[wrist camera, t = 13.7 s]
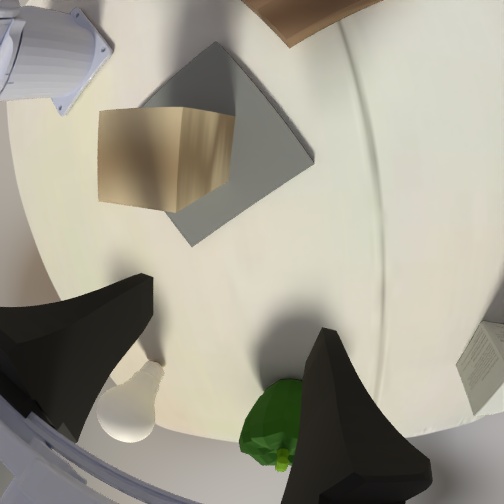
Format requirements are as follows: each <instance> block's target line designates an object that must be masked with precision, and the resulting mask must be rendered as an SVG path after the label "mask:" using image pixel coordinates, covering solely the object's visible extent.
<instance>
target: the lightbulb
mask: <svg viewBox="0 0 504 504" xmlns="http://www.w3.org/2000/svg"><path fill="white" fill-rule="evenodd" d="M163 376H164V370H163V368H162V367H161V365H160V364H159V363H157V362H153V361H148V362H146V363H145V364H144V366H143V367H142V368H141V369H140V371H138V372H136V373H135V374H134V375H133V376H132V378H130V379H129V380H128V381H127V382H125V383H123V384H121V385H118V386H115V387H113V388H110V389H108V390H107V391H106V392H105V393H103V394H102V396H101V397H100V399H99V401H98V405H97V416H98V420H99V422H100V424H101V426H102V428H103V429H104V430H105V431H106V432H107V433H108V434H109V435H110V436H112V437H113V438H115V439H117V440H119V441H123V442H136V441H140V440H142V439H144V438H145V437H147V436H148V435H149V434H150V433H151V431H152V430H153V427H154V424H155V406H154V404H155V397H156V394H157V392H158V390H159V384H160V382H161V380H162V378H163Z"/></svg>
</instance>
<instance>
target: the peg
mask: <svg viewBox="0 0 504 504" xmlns="http://www.w3.org/2000/svg"><path fill="white" fill-rule="evenodd" d="M234 125H235V116H231V115H226V114H221V113H216V112H211V111H205V110H199V109H193V108H187V107H148V108H129V109H116V110H105V111H100V112H99V127H98V200H99V201H100V202H107V203H114V204H121V205H128V206H135V207H141V208H148V209H154V210H161V211H167V212H173V213H177V212H178V211H180V210H182V209H183V208H185V207H186V206H188V205H190V204H191V203H193V202H194V201H196V200H198V199H199V198H201V197H203V196H204V195H206V194H208V193H209V192H211V191H213V190H214V189H216V188H218V187H219V186H221V185H223V184H225V183H226V182H228V181H229V172H230V162H231V152H232V143H233V134H234Z"/></svg>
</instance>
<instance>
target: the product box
mask: <svg viewBox="0 0 504 504" xmlns="http://www.w3.org/2000/svg"><path fill="white" fill-rule="evenodd" d="M456 367H457V369H458V372H459V375H460V377H461V380H462V383H463V385H464V388H465V391H466V394H467V397H468V400H469V403H470V406H471V409H472V412H473V415H474V416H479V415H486V414H496V413H499V412H504V324H500V323H492V322H487V321H482V322H481V323H480V325H479V326H478V328H477V330H476V332H475V334H474V336H473V338H472V339H471V341H470V343H469V345H468V346H467V348H466V350H465V351H464V353H463V354H462V356H461V358H460V359H459V361H458V362H457V364H456Z"/></svg>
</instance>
